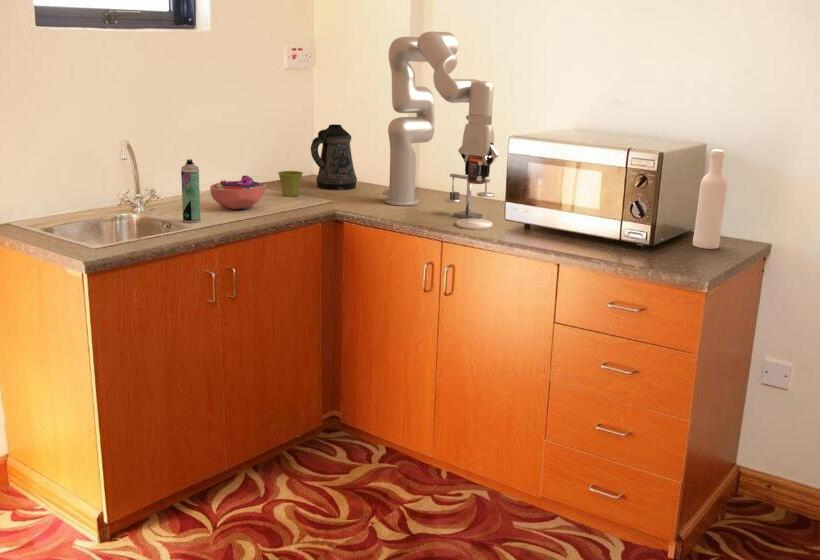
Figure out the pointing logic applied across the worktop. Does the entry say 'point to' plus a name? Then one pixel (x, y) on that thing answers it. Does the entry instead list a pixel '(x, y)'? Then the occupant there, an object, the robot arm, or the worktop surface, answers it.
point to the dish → (474, 223)
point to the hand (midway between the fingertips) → (477, 175)
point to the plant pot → (290, 182)
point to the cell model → (238, 193)
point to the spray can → (190, 192)
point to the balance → (455, 198)
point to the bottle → (711, 205)
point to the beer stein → (334, 159)
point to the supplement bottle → (475, 170)
